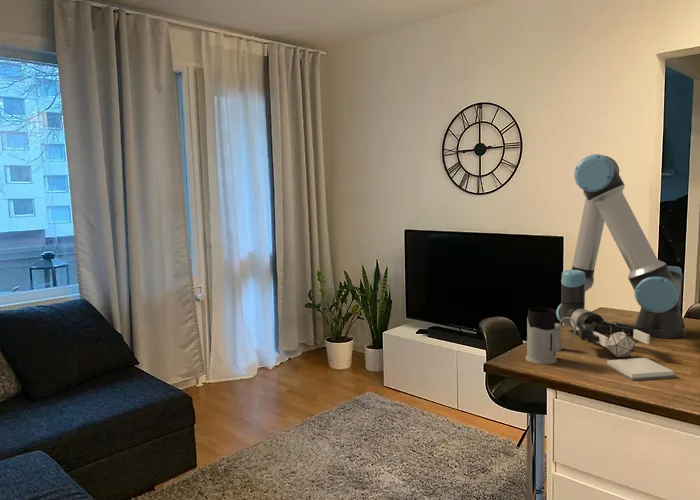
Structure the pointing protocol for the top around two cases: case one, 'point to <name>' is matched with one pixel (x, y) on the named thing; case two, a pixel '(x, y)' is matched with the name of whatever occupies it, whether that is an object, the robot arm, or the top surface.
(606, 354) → the top surface
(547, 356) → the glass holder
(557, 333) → the rook chess piece
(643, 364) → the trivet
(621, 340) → the game die
